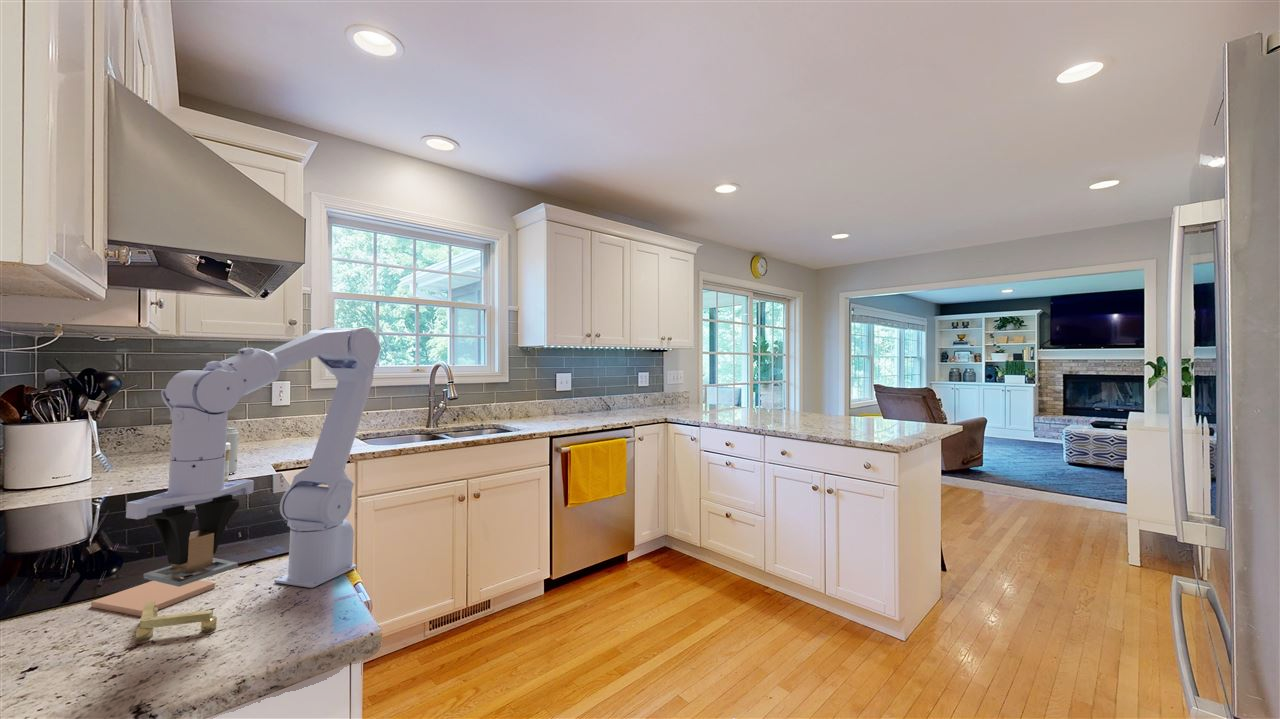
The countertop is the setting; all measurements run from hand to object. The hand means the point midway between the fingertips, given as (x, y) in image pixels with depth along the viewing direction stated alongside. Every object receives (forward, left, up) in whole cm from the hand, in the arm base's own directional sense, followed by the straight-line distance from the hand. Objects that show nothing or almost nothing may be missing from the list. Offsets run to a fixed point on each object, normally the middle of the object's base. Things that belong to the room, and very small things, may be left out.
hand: (192, 558), depth 68 cm
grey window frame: (0, 0, -2) cm, 2 cm away
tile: (-6, -16, -10) cm, 20 cm away
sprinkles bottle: (-59, -75, -10) cm, 96 cm away
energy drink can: (-76, -95, -10) cm, 122 cm away
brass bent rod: (+1, -4, -10) cm, 11 cm away
